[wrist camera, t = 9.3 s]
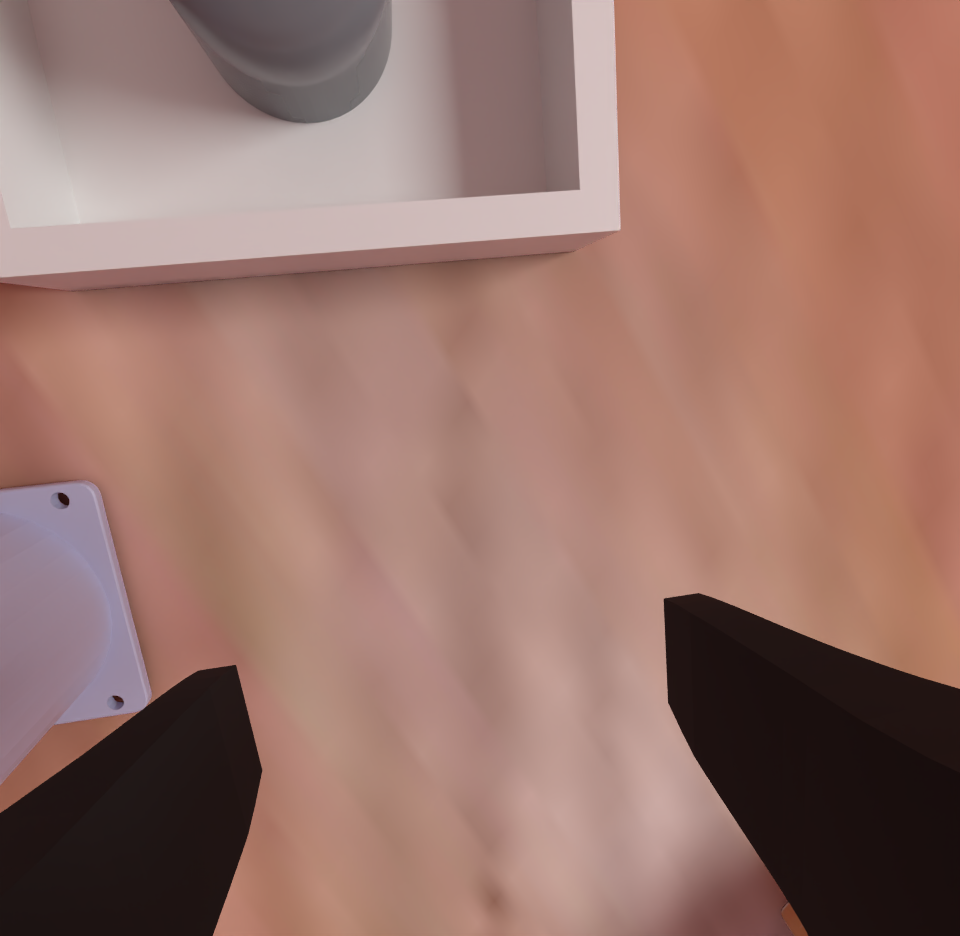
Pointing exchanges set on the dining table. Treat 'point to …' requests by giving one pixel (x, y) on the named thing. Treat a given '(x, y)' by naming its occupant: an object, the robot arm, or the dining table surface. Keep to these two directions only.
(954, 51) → the dining table surface
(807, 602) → the dining table surface
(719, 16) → the dining table surface
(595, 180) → the white tub
